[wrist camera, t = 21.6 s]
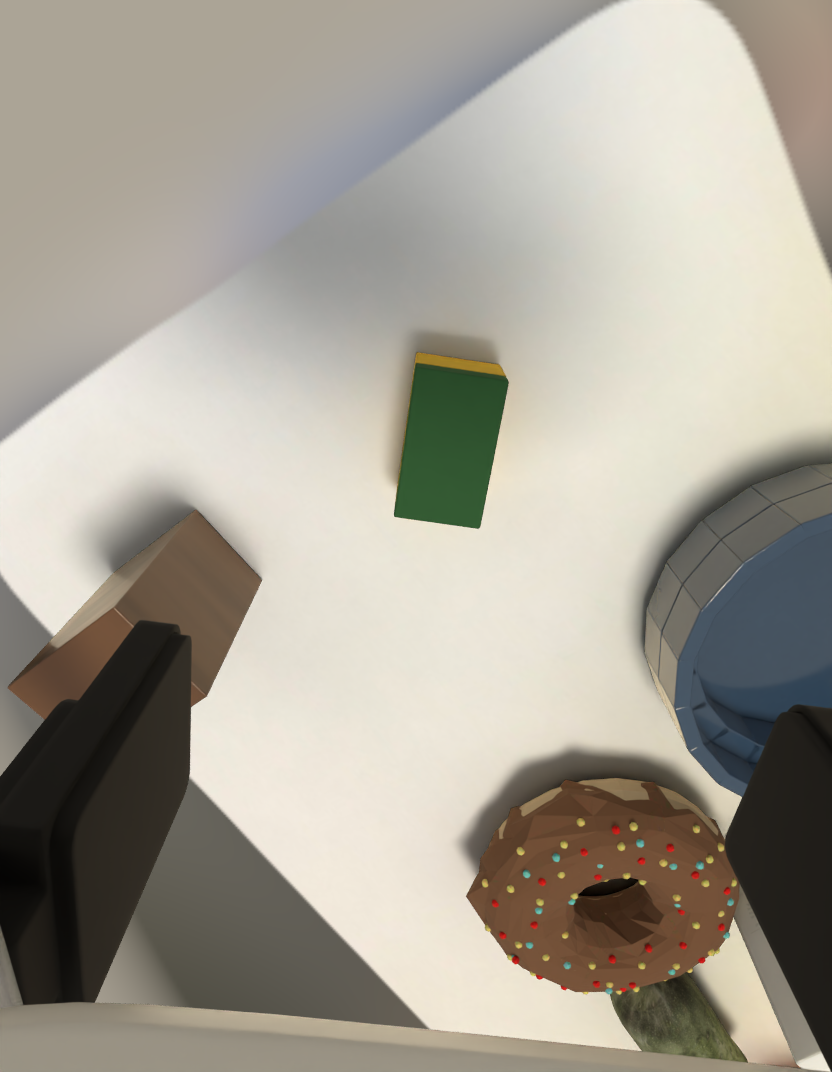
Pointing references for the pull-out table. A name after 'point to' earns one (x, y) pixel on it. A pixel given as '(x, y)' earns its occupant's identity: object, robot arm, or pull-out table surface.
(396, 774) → the pull-out table surface
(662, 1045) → the vegetable
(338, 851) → the pull-out table surface
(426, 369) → the sponge
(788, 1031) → the cosmetics box
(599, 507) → the pull-out table surface
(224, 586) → the wooden block
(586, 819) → the donut
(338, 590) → the pull-out table surface
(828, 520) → the bowl
